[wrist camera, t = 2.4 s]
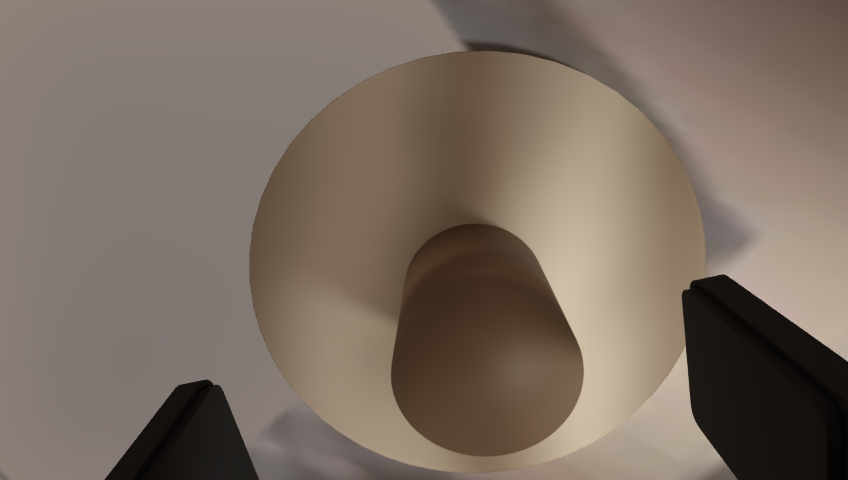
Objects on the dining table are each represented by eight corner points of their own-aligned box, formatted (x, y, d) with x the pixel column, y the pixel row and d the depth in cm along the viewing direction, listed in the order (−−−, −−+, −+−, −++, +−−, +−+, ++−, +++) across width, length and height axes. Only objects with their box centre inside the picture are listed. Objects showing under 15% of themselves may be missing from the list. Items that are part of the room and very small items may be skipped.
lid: (674, -4, 14) (812, -41, 8) (706, 419, 17) (814, 564, 12) (195, 113, 15) (69, 140, 10) (326, 482, 19) (284, 637, 14)
